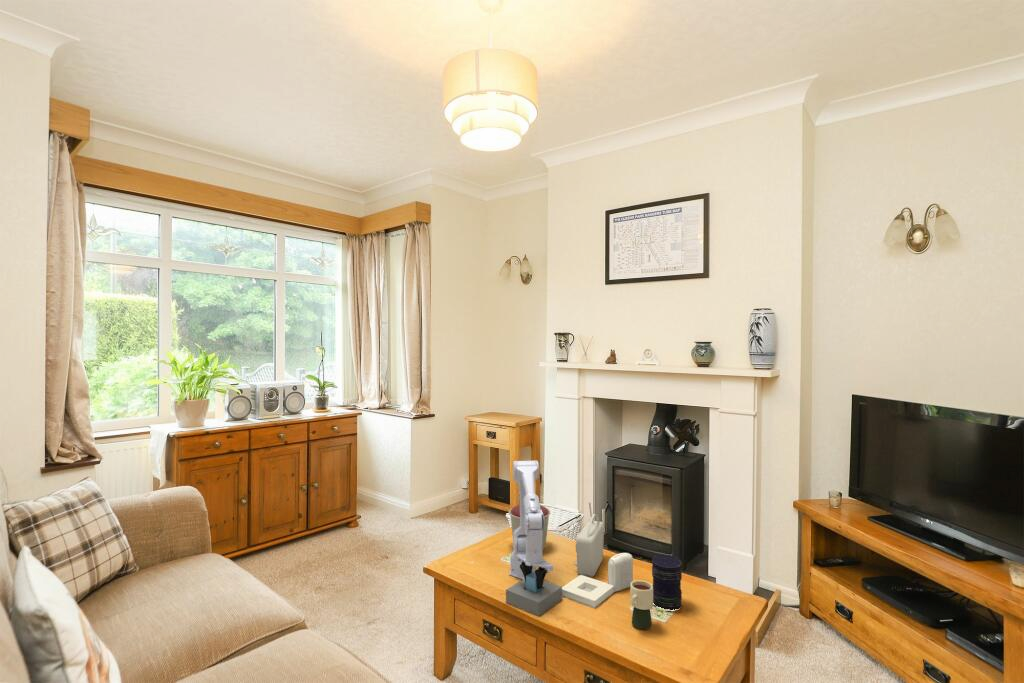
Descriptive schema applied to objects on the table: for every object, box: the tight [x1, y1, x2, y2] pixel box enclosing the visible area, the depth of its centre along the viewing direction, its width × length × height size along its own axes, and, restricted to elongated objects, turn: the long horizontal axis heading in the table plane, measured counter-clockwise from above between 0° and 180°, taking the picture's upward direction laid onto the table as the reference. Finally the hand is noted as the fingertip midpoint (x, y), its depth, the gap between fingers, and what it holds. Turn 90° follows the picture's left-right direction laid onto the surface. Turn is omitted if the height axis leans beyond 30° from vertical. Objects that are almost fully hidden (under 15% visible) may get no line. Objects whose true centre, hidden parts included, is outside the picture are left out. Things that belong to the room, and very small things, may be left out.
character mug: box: [629, 579, 654, 630], centre depth 166 cm, size 11×7×13 cm, turn 135°
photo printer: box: [607, 552, 634, 593], centre depth 191 cm, size 10×4×12 cm, turn 123°
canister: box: [508, 504, 551, 551], centre depth 226 cm, size 18×18×21 cm
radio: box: [574, 501, 605, 577], centre depth 209 cm, size 22×8×25 cm, turn 159°
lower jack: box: [561, 574, 615, 609], centre depth 186 cm, size 14×14×2 cm
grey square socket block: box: [505, 579, 563, 617], centre depth 181 cm, size 14×14×4 cm
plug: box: [526, 572, 542, 594], centre depth 182 cm, size 4×5×8 cm
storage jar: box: [651, 554, 683, 610], centre depth 179 cm, size 10×10×15 cm
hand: (534, 586), depth 181 cm, fingers open, 4 cm apart
